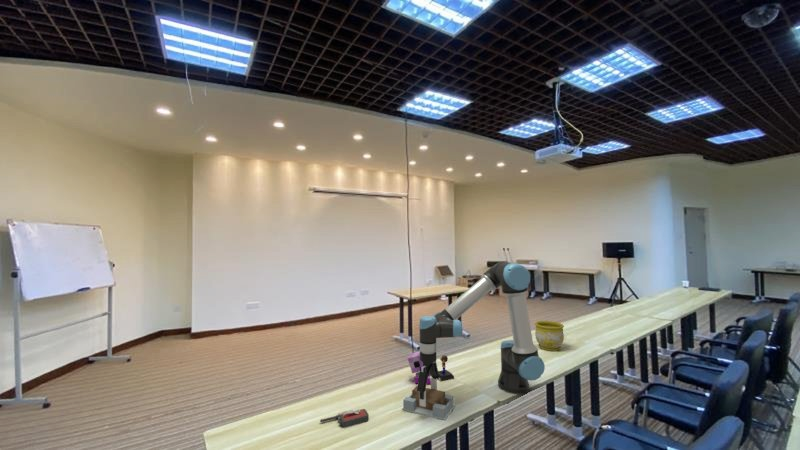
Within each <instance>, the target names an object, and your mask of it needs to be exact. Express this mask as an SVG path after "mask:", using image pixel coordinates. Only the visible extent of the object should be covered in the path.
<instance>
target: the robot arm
mask: <svg viewBox="0 0 800 450" xmlns="http://www.w3.org/2000/svg"><path fill="white" fill-rule="evenodd" d="M530 282H531V274H530V271H529V270H528V269H527V267H525V266H524V265H522V264H520V263H517V262H509V261H499V262H497V263H496V264H494V265H493V266H491V267H490V268H489V269H487V270H486V271H485V272H483V274H481V277H480V279H479V280H478V281H476V282H475V283H474V284H473V285H471V287H469V288H468V289H467V290H466V291H464V292H463V293H461V295H460V296H459V297H457V298H456V299H455V300H454V301H453V302H452V303H450V304H449V305H448V306H446V308H444V309H443V310H442V311H440V312H438V311H437V312H434V314H433V315H424V316H421V317H420V318H419V327H418V329H419V330H418V331H419V343H418V345H419V351H420V360H421V361H422V362H423V367H420V373H419V380H418V383H417V385H416V386H417V391H419V400H420V406H423V407H426V391H425V388H427V384H426V383H427V379H428V376H429V375H431V376H430V378H431V383H430V389H435V390H438V379H439V376H438V375H439V373H438V371H439V369H438V365H437V352H436V351H437V339H441V338H443V339H446V338H458V337H461V336H463V332H464V331H463V324H462V321H461V320H459V318H460V317H461V316H462V315H464V314H465V313H466V312H467V311H468V310H469V309H471V308H473V306H474V305H476V304H477V303H478V302H479V301H481V299H483V298H484V297H485V296H486V295H488V294H489V293H490V292H491V291H492V290H497V289H498V288H499V287H501V291H502V294H503V295H505V297H506V301H507V302H506V303H507V308H508V315H509V322H510V327H511V334H512V339H513V340H512V339H507V340H503V341H502V342H501V343H500V363H501V365H500V367H501V368H500V373H499V377H498V380H497V387H498V388H499V389H500V390H502V391H504V392H507V393H509V394H510V393H511V394H524V393H527V392H529V391H530V383H529V381H531V382H532V381H537V380H538V379H540V378H541V377H542V375H543V374H544V372H545V369H546V368H545V366H546V365H545V362H544V360H543V359H542V358H541V357H540V356H539V351H538V350H539V349H538V346H536V345H535V344H534V340H533V335H532V328H531V321H530V317H529V310H528V303H527V298H526V294H527V293H528V291H529V289H528V286H529V284H530Z"/></svg>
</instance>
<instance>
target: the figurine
mask: <svg viewBox="0 0 800 450" xmlns="http://www.w3.org/2000/svg"><path fill="white" fill-rule="evenodd" d="M448 359H449V357H448V356H447V355H445V354H444V355H442V356H441V357H440V358H439V360H440V361H441V367H442V369H441V370H438V373H439V375H438V376H439V379H437V381H439V382H445V381H450V380H455V375H454V374H453V373H452V372H450V371H449V370H447V369H446V362H448Z"/></svg>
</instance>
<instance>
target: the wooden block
mask: <svg viewBox="0 0 800 450" xmlns="http://www.w3.org/2000/svg"><path fill="white" fill-rule="evenodd" d="M417 386H418V385H416V386H415V387H414V388H413V389H412V390H411V392H412V393H411V394H412V398H414V399H417V407H419V408H424V409H428V410H432V411H433V406H434V404H435V403H437V404H441V405H446V401H445V394H446V391H444V390H443V391H442V390H438V389H437V390H435V389H431V387H430V388H429V387H426V388H425V391H426V407H423V406H420V400H419V391H417Z"/></svg>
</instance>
